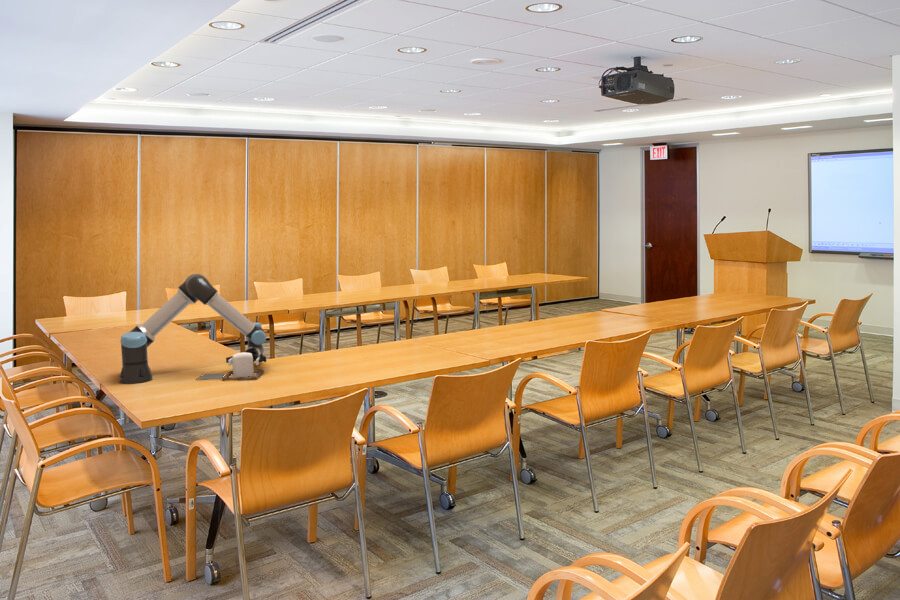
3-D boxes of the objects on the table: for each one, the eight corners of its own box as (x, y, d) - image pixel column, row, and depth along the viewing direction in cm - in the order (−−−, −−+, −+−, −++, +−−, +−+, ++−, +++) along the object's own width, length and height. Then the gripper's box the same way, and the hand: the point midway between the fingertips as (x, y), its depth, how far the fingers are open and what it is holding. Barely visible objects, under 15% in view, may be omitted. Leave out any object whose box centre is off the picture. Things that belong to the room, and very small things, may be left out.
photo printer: (233, 378, 366) (232, 354, 364) (232, 377, 369) (231, 352, 368) (254, 376, 370) (253, 352, 369) (253, 374, 374) (252, 351, 372)
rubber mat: (195, 380, 363) (195, 379, 363) (202, 375, 375) (202, 374, 375) (220, 379, 364) (220, 378, 364) (226, 374, 376) (226, 373, 376)
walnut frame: (222, 380, 361) (221, 377, 361) (230, 373, 378) (230, 370, 377) (257, 380, 362) (256, 377, 362) (263, 372, 379) (263, 369, 378)
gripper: (275, 361, 390) (268, 369, 369) (228, 362, 388) (218, 370, 367) (275, 347, 389) (267, 354, 368) (227, 348, 388) (217, 355, 366)
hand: (242, 362), depth 368 cm, fingers open, 13 cm apart
